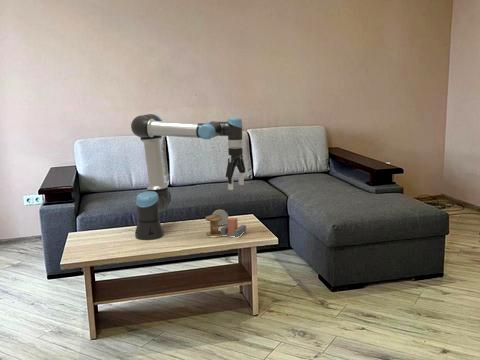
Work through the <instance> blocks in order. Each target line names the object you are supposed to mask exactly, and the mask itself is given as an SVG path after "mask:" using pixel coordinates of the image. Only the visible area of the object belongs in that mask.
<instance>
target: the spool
mask: <svg viewBox="0 0 480 360" xmlns="http://www.w3.org/2000/svg"><path fill="white" fill-rule="evenodd" d="M220 220H222V216H220V215H212V214H211V215H207V216H205V221H208V222H209V225H210V228H209V229H210V230H209V231H207V232H206V233H205V235H207V236H220V235H222V234H221V230H219V226H218V221H220ZM207 236H206V237H207Z"/></svg>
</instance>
